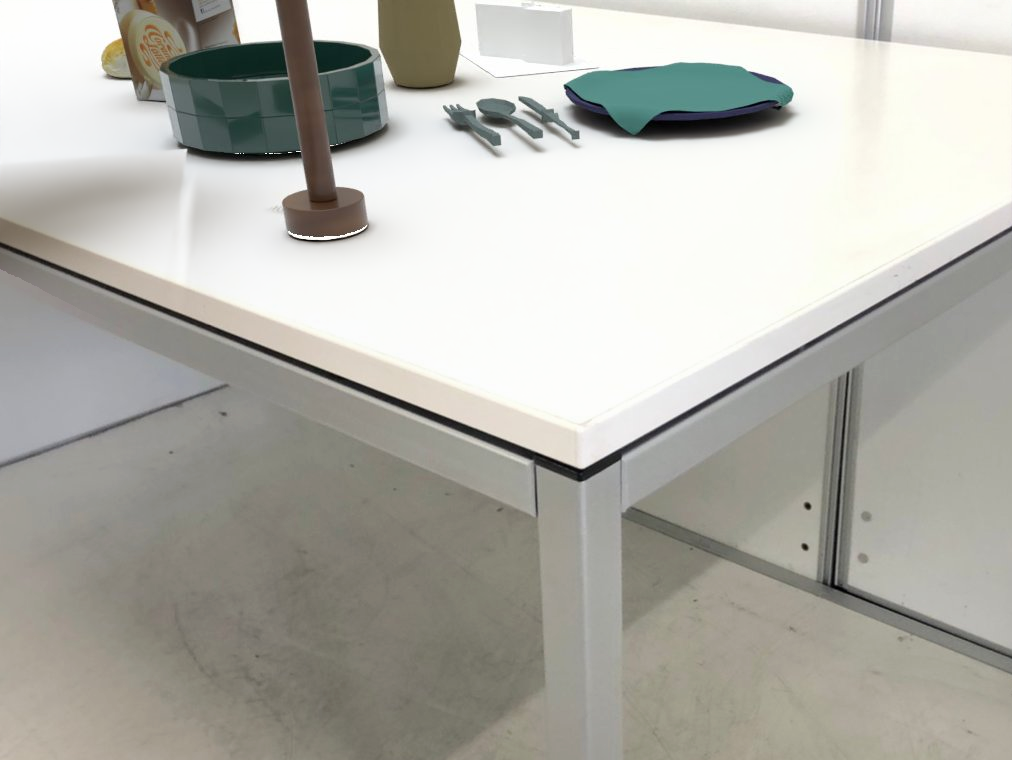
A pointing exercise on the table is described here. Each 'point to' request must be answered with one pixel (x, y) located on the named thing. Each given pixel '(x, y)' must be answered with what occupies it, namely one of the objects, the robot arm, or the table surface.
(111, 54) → the bread roll
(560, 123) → the cutlery set
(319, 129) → the brown pole stand
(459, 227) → the table surface
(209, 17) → the coffee box
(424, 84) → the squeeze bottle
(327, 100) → the bowl
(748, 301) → the table surface
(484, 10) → the napkin holder
